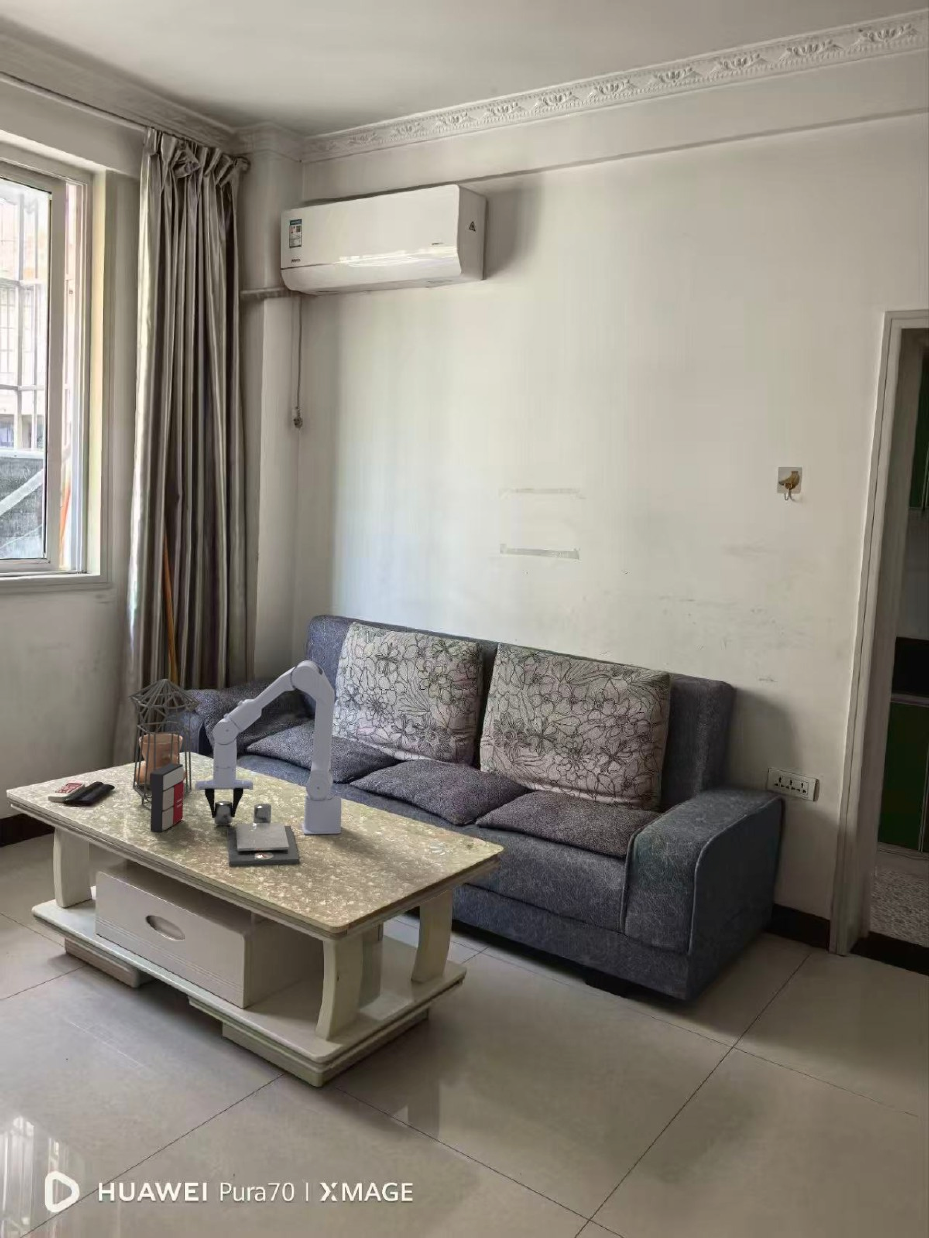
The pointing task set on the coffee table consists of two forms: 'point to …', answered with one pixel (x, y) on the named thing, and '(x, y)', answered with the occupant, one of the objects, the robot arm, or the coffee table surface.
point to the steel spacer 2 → (262, 813)
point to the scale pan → (261, 836)
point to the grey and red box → (166, 796)
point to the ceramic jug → (158, 754)
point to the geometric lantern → (159, 685)
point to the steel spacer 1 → (223, 812)
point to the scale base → (261, 852)
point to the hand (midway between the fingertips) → (223, 816)
